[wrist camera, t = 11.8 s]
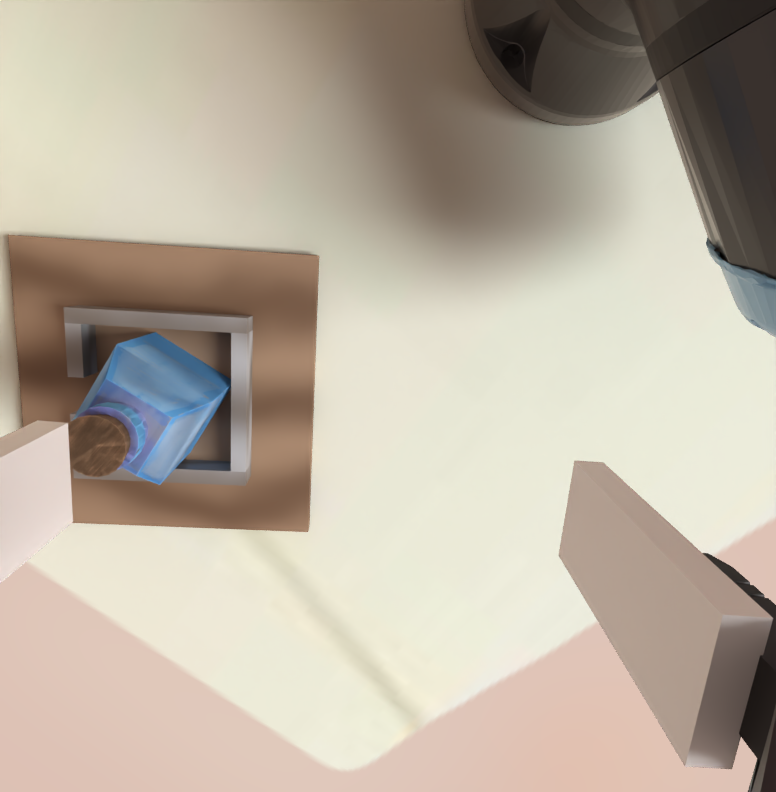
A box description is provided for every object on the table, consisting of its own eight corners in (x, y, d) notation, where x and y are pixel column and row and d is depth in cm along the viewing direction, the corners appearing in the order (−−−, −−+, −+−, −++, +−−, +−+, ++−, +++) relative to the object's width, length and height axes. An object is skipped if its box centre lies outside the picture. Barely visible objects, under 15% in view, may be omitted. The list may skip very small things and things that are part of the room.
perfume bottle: (155, 332, 38) (64, 359, 27) (234, 381, 39) (180, 429, 28) (111, 406, 39) (5, 464, 28) (190, 452, 40) (119, 527, 29)
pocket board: (17, 235, 38) (-12, 233, 35) (319, 255, 39) (315, 254, 36) (38, 515, 42) (13, 533, 39) (309, 525, 43) (305, 544, 40)
